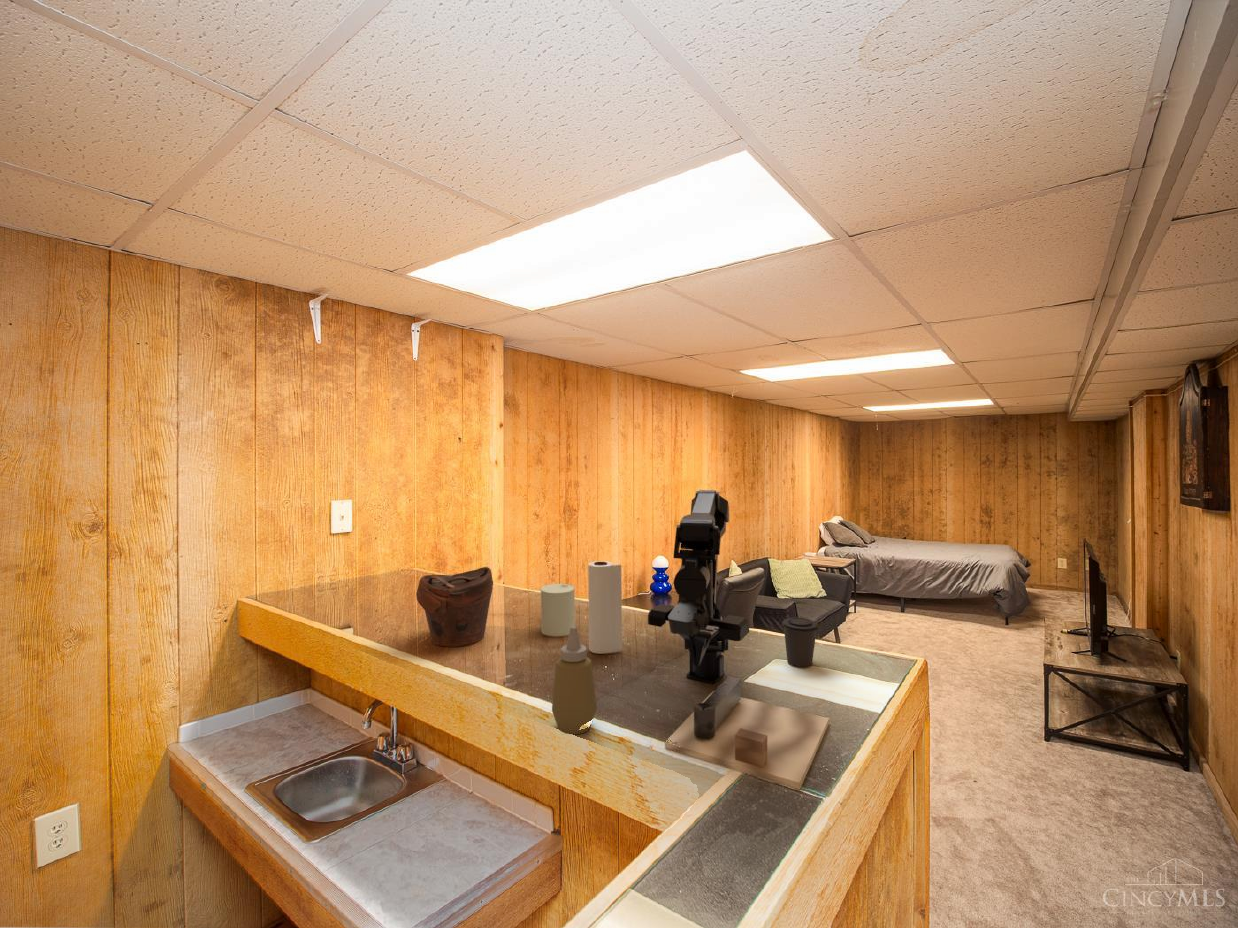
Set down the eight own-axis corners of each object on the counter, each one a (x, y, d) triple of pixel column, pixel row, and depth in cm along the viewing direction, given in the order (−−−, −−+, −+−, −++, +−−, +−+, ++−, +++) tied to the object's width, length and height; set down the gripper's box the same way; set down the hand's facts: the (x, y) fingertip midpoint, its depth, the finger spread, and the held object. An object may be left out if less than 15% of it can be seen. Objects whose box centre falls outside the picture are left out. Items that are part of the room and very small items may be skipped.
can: (582, 628, 153) (581, 584, 152) (561, 639, 145) (560, 593, 145) (555, 622, 158) (555, 580, 157) (533, 632, 150) (533, 588, 150)
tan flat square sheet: (664, 748, 94) (664, 742, 94) (713, 695, 113) (713, 690, 113) (799, 789, 83) (799, 783, 83) (828, 723, 102) (829, 718, 102)
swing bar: (710, 741, 93) (710, 715, 93) (690, 735, 95) (690, 710, 95) (743, 700, 108) (743, 677, 108) (725, 695, 110) (725, 673, 109)
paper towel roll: (583, 649, 138) (583, 562, 137) (603, 643, 142) (602, 559, 141) (602, 658, 132) (601, 567, 131) (622, 651, 136) (621, 564, 135)
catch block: (735, 759, 89) (735, 734, 89) (740, 752, 91) (740, 728, 91) (762, 768, 87) (762, 742, 86) (767, 760, 89) (767, 735, 89)
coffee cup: (773, 660, 131) (773, 617, 130) (799, 654, 134) (800, 612, 134) (799, 673, 123) (800, 628, 123) (826, 666, 127) (826, 622, 127)
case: (400, 643, 143) (400, 573, 142) (463, 622, 159) (462, 559, 158) (448, 659, 133) (447, 584, 132) (508, 635, 149) (509, 568, 148)
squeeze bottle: (602, 734, 98) (601, 633, 98) (556, 742, 96) (554, 638, 95) (591, 713, 106) (590, 618, 105) (548, 719, 104) (547, 623, 103)
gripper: (633, 588, 105) (634, 670, 106) (729, 603, 96) (729, 693, 96) (660, 575, 115) (660, 650, 116) (750, 587, 105) (750, 669, 106)
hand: (697, 665), depth 108 cm, fingers closed
